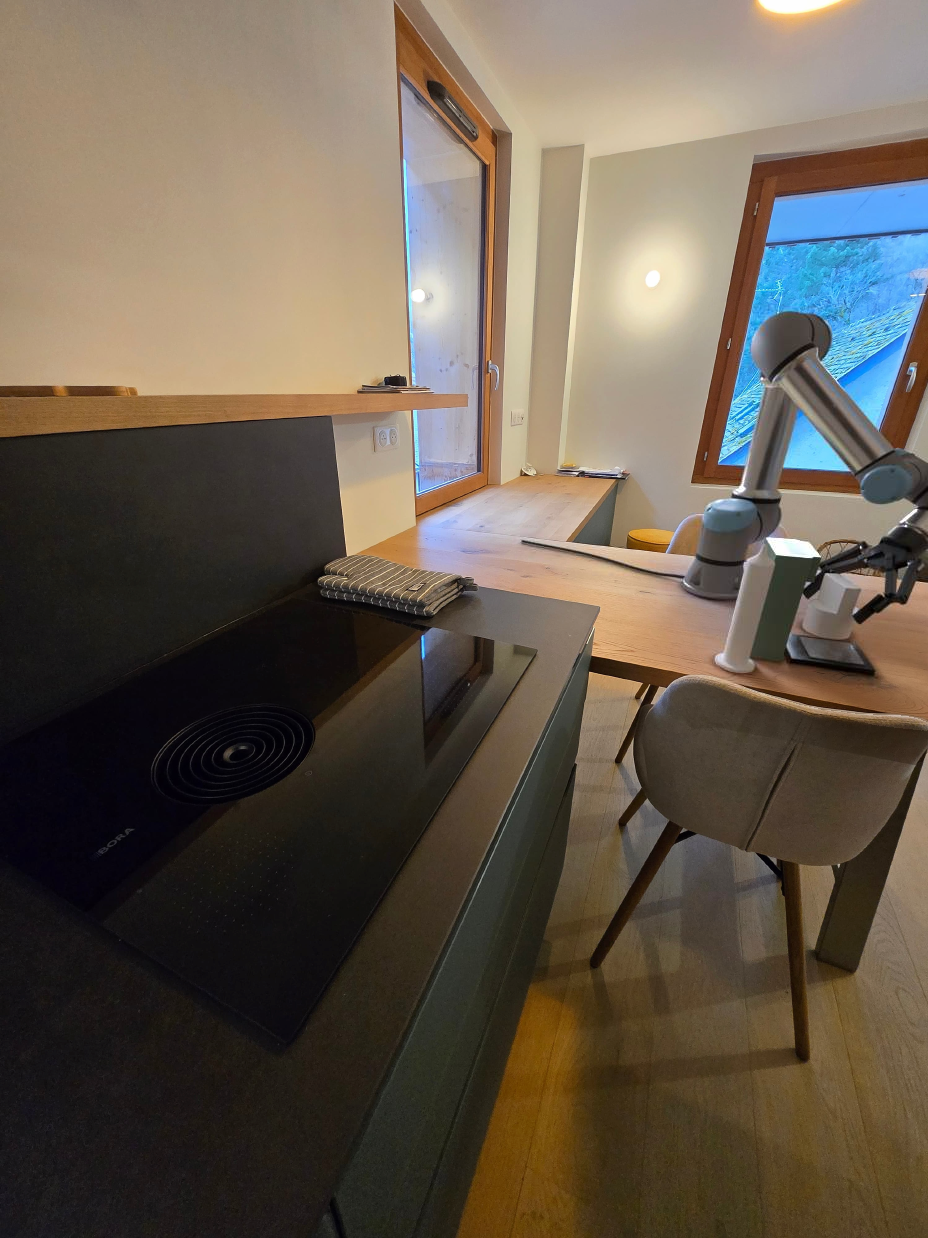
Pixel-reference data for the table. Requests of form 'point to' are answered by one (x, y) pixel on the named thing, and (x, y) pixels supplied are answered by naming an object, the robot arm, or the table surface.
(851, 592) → the base with upright slab
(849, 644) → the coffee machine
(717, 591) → the robot arm
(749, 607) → the candle
